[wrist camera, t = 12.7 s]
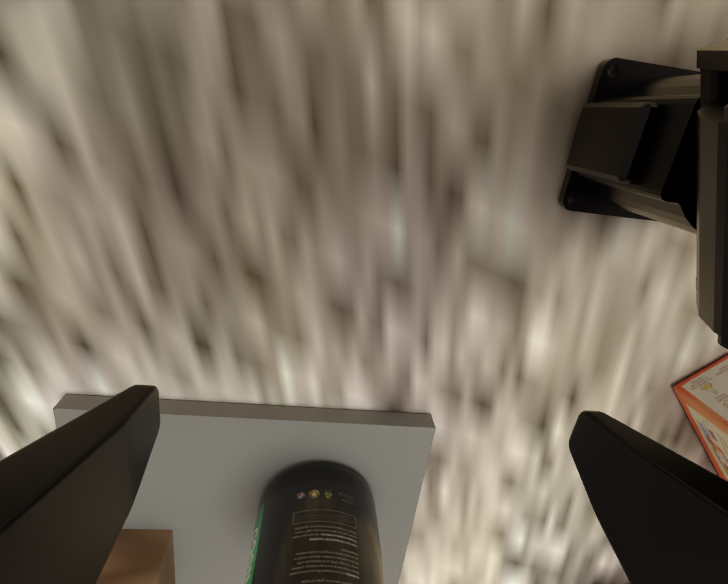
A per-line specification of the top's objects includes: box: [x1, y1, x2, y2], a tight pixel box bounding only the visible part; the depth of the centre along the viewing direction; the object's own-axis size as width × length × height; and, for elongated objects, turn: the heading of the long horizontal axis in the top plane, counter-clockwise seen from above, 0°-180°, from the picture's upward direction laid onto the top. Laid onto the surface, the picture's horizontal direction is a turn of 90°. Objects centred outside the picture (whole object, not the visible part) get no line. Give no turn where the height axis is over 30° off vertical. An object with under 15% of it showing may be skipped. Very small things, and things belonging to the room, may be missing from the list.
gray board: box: [53, 394, 435, 584], centre depth 26 cm, size 20×14×1 cm
